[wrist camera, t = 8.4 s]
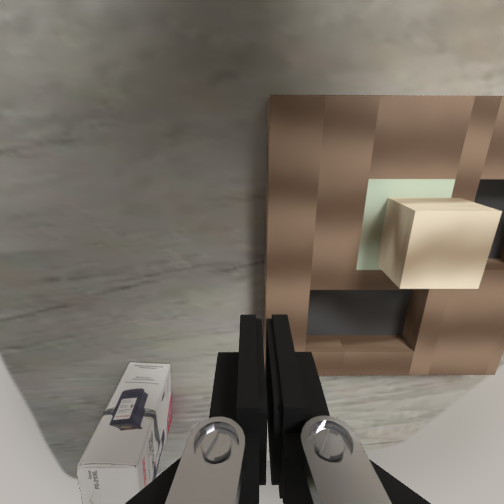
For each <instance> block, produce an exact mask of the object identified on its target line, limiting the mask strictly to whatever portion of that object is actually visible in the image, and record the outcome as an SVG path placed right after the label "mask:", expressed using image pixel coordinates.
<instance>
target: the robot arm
mask: <svg viewBox="0 0 504 504" xmlns="http://www.w3.org/2000/svg"><path fill="white" fill-rule="evenodd" d="M267 421H268V437H269V453H270V468H271V482H272V485H279V494H280V498H283V503H284V504H431V503H429V502H428V501H426V500H425V499H423V498H422V497H421V496H419V495H418V494H417V493H415V492H414V491H413V490H411V489H410V488H408V487H407V486H406V485H404V484H403V483H401V482H400V481H399V480H397V479H396V478H394V477H393V476H392V475H390V474H389V473H388V472H386V471H385V470H383V469H382V468H381V467H379V466H378V465H376V464H375V463H374V462H372V461H371V460H370V459H369V458H368V456H367V454H366V452H365V450H364V448H363V447H362V445H361V443H360V441H359V439H358V437H357V435H356V434H355V432H354V431H353V429H352V428H351V427H350V426H349V425H347V424H346V423H345V422H343V421H342V420H340V419H338V418H335V417H331V416H330V415H329V411H328V408H327V404H326V401H325V397H324V394H323V390H322V386H321V383H320V379H319V376H318V372H317V369H316V365H315V362H314V358H313V355H312V353H311V352H295V349H294V344H293V339H292V334H291V330H290V325H289V320H288V315H287V314H272V318H271V319H266V352H265V363H264V348H263V333H262V319H256V315H241V316H240V338H239V352H219V353H218V357H217V364H216V371H215V379H214V386H213V393H212V401H211V408H210V415H209V419H206V420H204V421H202V422H201V423H199V424H198V425H197V426H196V427H195V428H194V429H193V430H192V432H191V434H190V436H189V438H188V440H187V443H186V446H185V449H184V452H183V454H182V457H181V458H179V459H178V460H177V461H176V462H175V463H173V464H172V465H171V466H170V467H169V468H167V469H166V470H165V471H164V472H162V473H161V474H160V475H159V476H158V477H157V478H155V479H154V480H153V481H152V482H150V483H149V484H148V485H147V486H146V487H144V488H143V489H142V490H141V491H140V492H138V493H137V494H136V495H135V496H133V497H132V498H131V499H130V500H129V501H127V502H126V503H125V504H259V485H266V451H267Z"/></svg>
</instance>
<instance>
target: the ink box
mask: <svg viewBox="0 0 504 504" xmlns="http://www.w3.org/2000/svg"><path fill="white" fill-rule="evenodd" d="M171 420H172V404H171V372H170V364H160V363H138V362H130V363H129V364H128V366H127V368H126V370H125V372H124V374H123V376H122V378H121V380H120V382H119V384H118V386H117V388H116V390H115V392H114V394H113V396H112V398H111V400H110V402H109V404H108V406H107V408H106V410H105V412H104V414H103V416H102V418H101V420H100V422H99V424H98V426H97V428H96V430H95V432H94V434H93V436H92V438H91V440H90V442H89V444H88V445H87V447H86V449H85V451H84V453H83V455H82V457H81V459H80V461H79V463H78V465H77V476H78V483H79V489H80V491H81V495H82V497H81V499H82V504H125V503H126V502H127V501H129V500H130V499H131V498H132V497H133V496H135V495H136V494H137V493H138V492H140V491H141V490H142V489H143V488H144V487H146V486H147V485H148V484H149V483H150V482H152V481H153V480H154V479H155V478H156V475H157V471H158V467H159V464H160V460H161V457H162V453H163V449H164V446H165V442H166V438H167V435H168V431H169V427H170V424H171Z"/></svg>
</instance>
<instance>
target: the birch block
mask: <svg viewBox="0 0 504 504" xmlns="http://www.w3.org/2000/svg"><path fill="white" fill-rule="evenodd" d="M501 214H502V211H500V210H497V209H494V208H490V207H487V206H484V205H481V204H478V203H475V202H472V201H469V200H465V199H462V198H388V200H387V206H386V212H385V218H384V224H383V230H382V236H381V242H380V248H379V254H378V260H377V266H378V267H379V268H380V269H381V270H382V271H383V272H384V273H385V274H386V275H387V276H388V277H389V278H390V279H391V280H392V281H393V282H394V283H395V284H396V286H397V287H398V288H399V289H479V285H480V282H481V279H482V276H483V272H484V269H485V266H486V263H487V259H488V256H489V253H490V250H491V246H492V243H493V240H494V237H495V233H496V230H497V227H498V224H499V220H500V217H501Z"/></svg>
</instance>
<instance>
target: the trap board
mask: <svg viewBox="0 0 504 504" xmlns="http://www.w3.org/2000/svg"><path fill="white" fill-rule="evenodd" d="M388 198H462V199H465V200H469V201H472V202H475V203H478V204H481V205H484V206H487V207H490V208H494V209H497V210H500V211H502V214H501V217H500V220H499V224H498V227H497V230H496V233H495V237H494V240H493V243H492V246H491V250H490V253H489V256H488V259H487V263H486V266H485V269H484V272H483V276H482V279H481V282H480V285H479V289H399V288H398V287H397V286H396V284H395V283H394V282H393V281H392V280H391V279H390V278H389V277H388V276H387V275H386V274H385V273H384V272H383V271H382V270H381V269H380V268H379V267H378V266H377V260H378V254H379V248H380V242H381V236H382V230H383V224H384V218H385V212H386V206H387V200H388ZM272 314H287V315H288V320H289V325H290V330H291V334H292V339H293V344H294V349H295V352H311V353H312V355H313V358H314V362H315V365H316V369H317V372H318V376H341V375H495V373H496V370H497V367H498V364H499V362H500V359H501V356H502V354H503V351H504V96H400V95H270V97H269V98H268V137H267V186H266V234H265V283H264V332H263V348H264V363H265V352H266V319H271V318H272Z"/></svg>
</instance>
